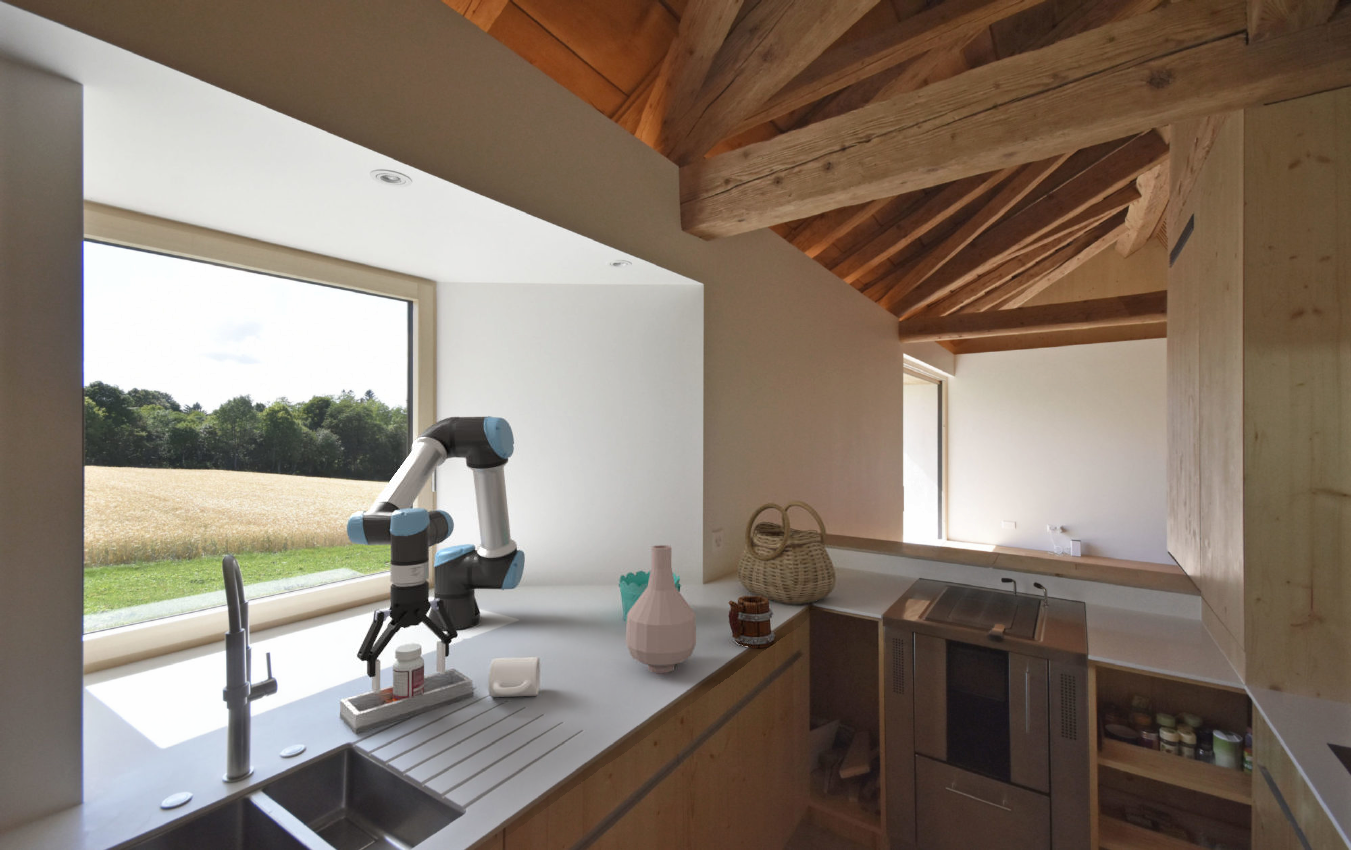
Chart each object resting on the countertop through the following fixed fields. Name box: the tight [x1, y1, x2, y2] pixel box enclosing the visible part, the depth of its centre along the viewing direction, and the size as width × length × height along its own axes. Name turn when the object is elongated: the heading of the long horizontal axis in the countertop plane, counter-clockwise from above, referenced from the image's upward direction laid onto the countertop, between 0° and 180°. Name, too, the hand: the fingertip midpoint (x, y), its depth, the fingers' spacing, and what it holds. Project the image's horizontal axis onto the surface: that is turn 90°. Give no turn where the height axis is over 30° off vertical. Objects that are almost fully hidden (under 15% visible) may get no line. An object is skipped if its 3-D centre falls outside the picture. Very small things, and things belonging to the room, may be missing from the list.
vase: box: [625, 544, 697, 674], centre depth 152 cm, size 18×18×30 cm
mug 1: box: [488, 656, 541, 698], centre depth 134 cm, size 12×10×8 cm
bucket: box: [618, 570, 682, 622], centre depth 193 cm, size 19×18×13 cm
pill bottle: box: [392, 643, 425, 702], centre depth 130 cm, size 6×6×11 cm
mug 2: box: [728, 595, 776, 649], centre depth 170 cm, size 12×14×15 cm
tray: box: [339, 667, 474, 735], centre depth 130 cm, size 24×10×4 cm, turn 134°
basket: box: [737, 500, 837, 605], centre depth 219 cm, size 35×28×34 cm
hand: (409, 681), depth 131 cm, fingers open, 13 cm apart
